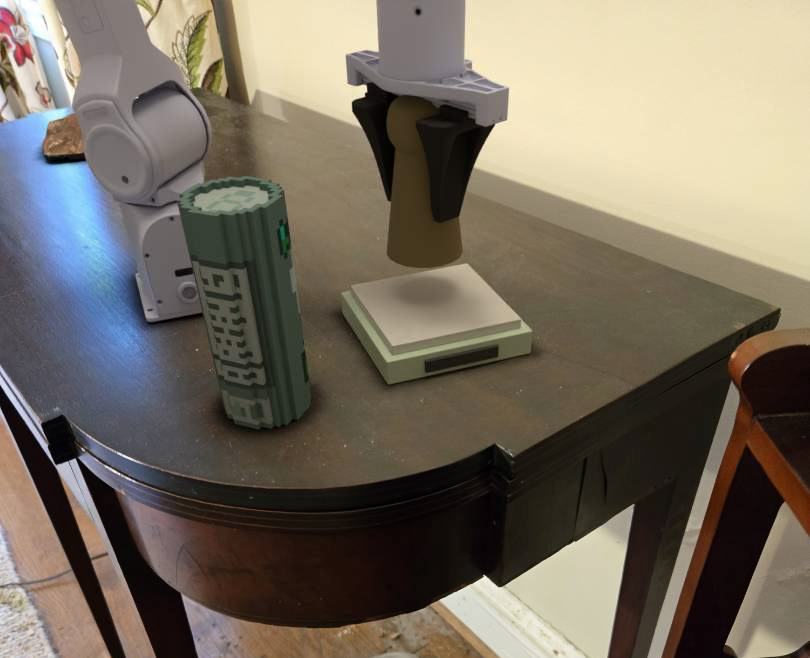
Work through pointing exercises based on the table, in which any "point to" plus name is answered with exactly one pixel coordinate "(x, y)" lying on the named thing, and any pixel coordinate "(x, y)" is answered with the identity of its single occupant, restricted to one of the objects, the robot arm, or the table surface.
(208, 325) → the can
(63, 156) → the brown stone slab
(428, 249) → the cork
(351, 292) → the scale
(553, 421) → the table surface
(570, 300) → the table surface
